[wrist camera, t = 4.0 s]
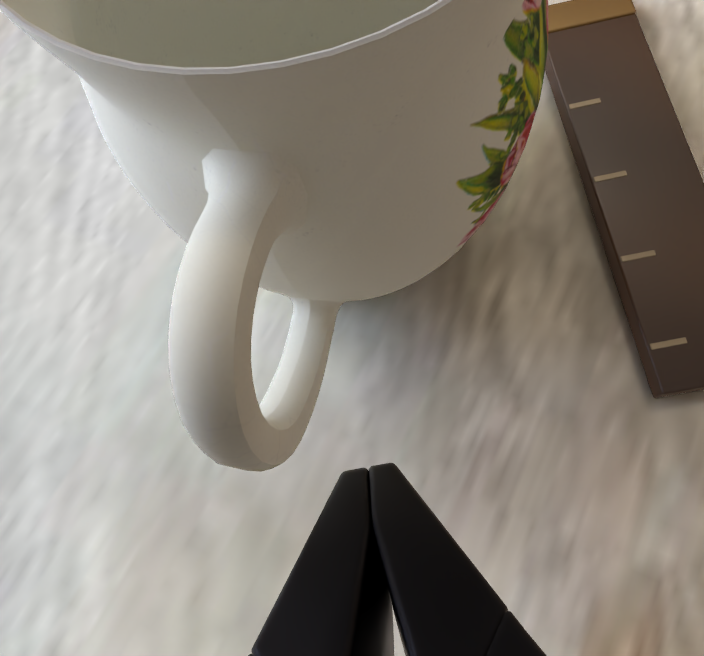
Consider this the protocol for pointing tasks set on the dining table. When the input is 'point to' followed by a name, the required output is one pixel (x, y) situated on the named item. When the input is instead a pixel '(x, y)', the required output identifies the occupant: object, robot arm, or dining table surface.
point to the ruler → (635, 181)
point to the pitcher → (297, 165)
